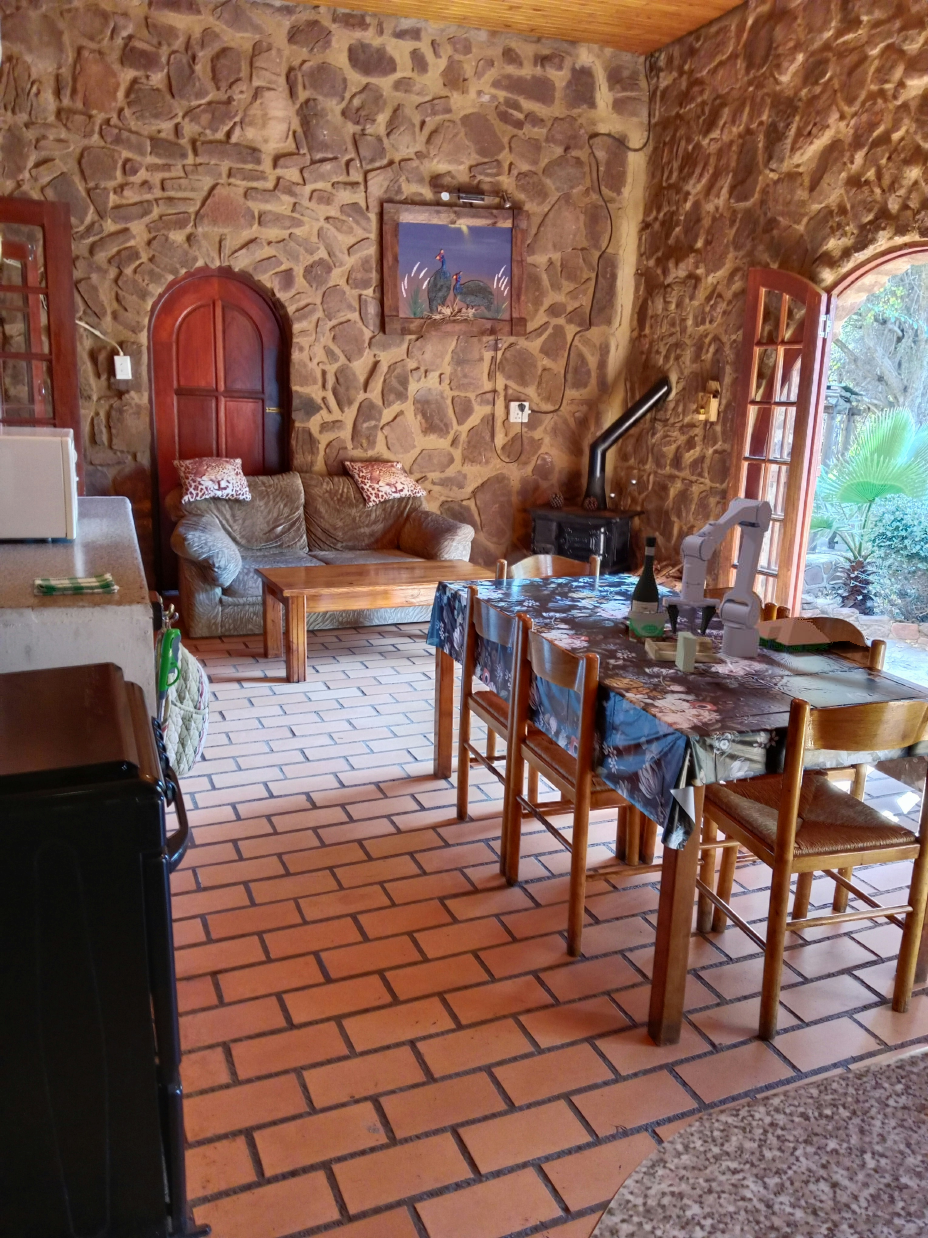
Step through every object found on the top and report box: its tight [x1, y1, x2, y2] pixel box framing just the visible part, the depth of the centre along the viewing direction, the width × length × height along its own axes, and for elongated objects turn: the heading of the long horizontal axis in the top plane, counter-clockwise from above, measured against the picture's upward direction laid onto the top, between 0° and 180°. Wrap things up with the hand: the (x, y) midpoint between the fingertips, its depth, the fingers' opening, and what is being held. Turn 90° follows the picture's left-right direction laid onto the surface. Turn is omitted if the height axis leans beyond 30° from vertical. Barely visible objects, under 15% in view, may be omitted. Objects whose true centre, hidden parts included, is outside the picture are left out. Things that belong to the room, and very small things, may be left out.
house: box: [755, 616, 871, 654], centre depth 298 cm, size 23×33×8 cm
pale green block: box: [674, 631, 697, 673], centre depth 261 cm, size 3×7×9 cm, turn 3°
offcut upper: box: [695, 636, 713, 650], centre depth 273 cm, size 4×5×2 cm
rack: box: [644, 638, 720, 663], centre depth 274 cm, size 18×11×4 cm, turn 93°
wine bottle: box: [630, 535, 660, 612], centre depth 291 cm, size 8×8×30 cm
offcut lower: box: [696, 647, 714, 654], centre depth 274 cm, size 4×6×2 cm, turn 3°
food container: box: [626, 608, 669, 645], centre depth 285 cm, size 12×6×10 cm, turn 105°
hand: (688, 633), depth 260 cm, fingers open, 7 cm apart
